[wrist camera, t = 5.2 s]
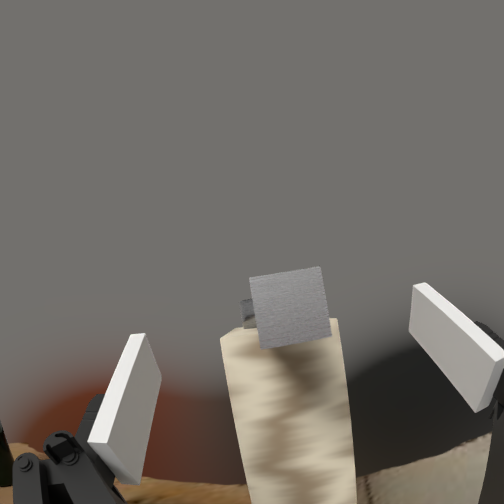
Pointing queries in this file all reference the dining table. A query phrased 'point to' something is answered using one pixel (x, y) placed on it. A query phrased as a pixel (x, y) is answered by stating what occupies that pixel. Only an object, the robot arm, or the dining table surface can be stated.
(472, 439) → the dining table surface
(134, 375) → the robot arm
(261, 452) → the stand
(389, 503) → the dining table surface
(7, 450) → the beer bottle
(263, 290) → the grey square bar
